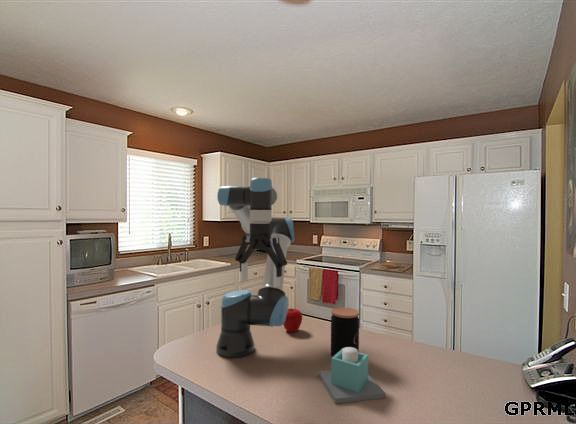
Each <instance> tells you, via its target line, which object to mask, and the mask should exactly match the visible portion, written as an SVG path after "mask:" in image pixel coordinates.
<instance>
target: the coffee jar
mask: <svg viewBox="0 0 576 424" xmlns="http://www.w3.org/2000/svg"><path fill="white" fill-rule="evenodd" d="M330 311H331V316H330V355H331V358H332V357H333V356H335V355H336V354H337V353H338V352H339V351H340V350H341V349H342V348H345V347H353V348H356V349H357V350H358V352H359V353H360V351H359V350H360V349H359V348H360V318H359V316H360V312H359V310H358V309H355V308H351V307H345V306H344V307H343V306H342V307H341V306H340V307H339V306H338V307H334V308H332V309H331V310H330Z"/></svg>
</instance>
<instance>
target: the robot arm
mask: <svg viewBox="0 0 576 424" xmlns="http://www.w3.org/2000/svg"><path fill="white" fill-rule="evenodd" d="M216 199H217V202H218V204H219V205H220V206H223V207H227V206H228V207H229V209H231V211H232V212H233V214H234V216H235V217H236V218H237V220H238V222H240V225H241V230H243V232H244V233H245V234H246V235H243V236H242V242H241V244H240V247H239V248H238V252H237V253H236V255H235V259H234V260H235V262H238V263H239V272H240V274H241V275H240V276H241V279H240V281H241V283H245V282H247V281H249V280H248V279H249V278H248V276H249V274H248V272H249V271H248V270H249V268H248V265H249V262H248V260H249V258H250V257H251V256H252V254H253V253H254V251H255V250H260V251H264V252H266V254H267V258H266V263H265V269H264V274H263V275H264V276H263V282H262V287H260V288H258V292H257V294H252V291H250V290H249V289H248V290H247V289H240V290H234V291H230V292H227V293H225V294H223V296H222V298H221V306H220V308H221V312H220V313H221V314H220V315H221V316H220V321H221V323H220V327H221V328H220V334H219V336H218V340H217V344H216V346H215V347H216V348H215V349H216V351H215V352H216V353H217V354H218V355H219V356H221V357H223V358H231V359H233V358H234V359H235V358H242V357H246V356H249V355H251V354H252V353H253V352H254V351H255V341H254V338H253V335H252V332H251V326H258V327H271V328H273V327H282V326H284V325H283V324H284V322H285V320H286V316H287V312H288V309H289V301H290V300H289V297H288V296H286V292H285V291H284V289H283V287H284V278H285V271H286V269H285V268H286V266H287V265H288V261H287V259H286V258H287V252H288V251H287V250H288V248H289V247H290V246H291V243H293V242H295V231H294V230H295V229H294V221H293V219H292V218H291V217H289V218H288V217H283V218H282V217H272V208H273V207H272V206H273V205H274V204H275V203H276V202H277V200H278V193H277V191H276V190H275V188H273V183H272V179H271V178H268V177H252V178H251V179H250V184H249V185H224V186H220V187H219V188H218V191H217V197H216ZM249 243H250V244H249Z"/></svg>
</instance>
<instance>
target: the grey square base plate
mask: <svg viewBox="0 0 576 424" xmlns="http://www.w3.org/2000/svg"><path fill="white" fill-rule="evenodd" d="M342 360H345V361H348V362H352V363H355V364H357V363H358V350H357V349H356V348H353V347H345V348H343V349H342ZM318 377H319V379H320V381H321V382H322V384H323V386H324V387H325V389H326V391H327V392H328V394H329V395H330V397H331V400H332V401H333V402H334V404H344V403H345V404H346V403H351V402H354V403H355V402H359V401H360V402H362V401H369V400H378V399H386V391H384V390H383V388H382V387H381V386H380V385H379V384H378V383H377V382H376V381H375V380H374V379H373V378H372V376H370V374H369V373H368V380H367V382H366V383H365V384H364V386H363V387H362V388H361V390H360V391H359V392H355V391H352V390H349V389H346V388H343V387H340V386H337V385H334V384H331V370H321V371H318Z"/></svg>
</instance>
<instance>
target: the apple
mask: <svg viewBox="0 0 576 424" xmlns="http://www.w3.org/2000/svg"><path fill="white" fill-rule="evenodd" d="M302 322H303V314H302V312H301V311H300V310H299V309H296V308H288V312H287V316H286V320H285V322H284V324H283V325H282V326H283V327H284V329H285V330H286V331H287V332H288V333H295V332H297V331H298V330H299V328H301V327H300V326H301V325H302Z"/></svg>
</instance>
